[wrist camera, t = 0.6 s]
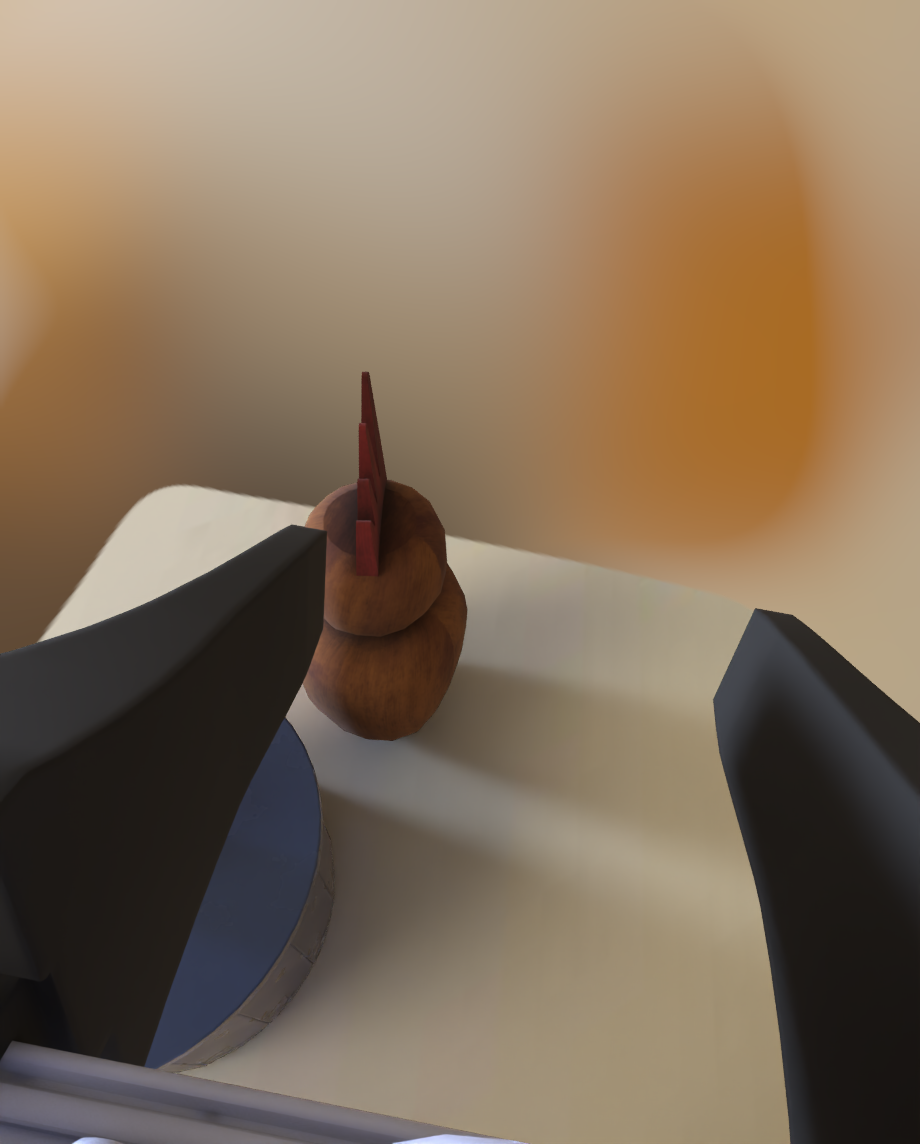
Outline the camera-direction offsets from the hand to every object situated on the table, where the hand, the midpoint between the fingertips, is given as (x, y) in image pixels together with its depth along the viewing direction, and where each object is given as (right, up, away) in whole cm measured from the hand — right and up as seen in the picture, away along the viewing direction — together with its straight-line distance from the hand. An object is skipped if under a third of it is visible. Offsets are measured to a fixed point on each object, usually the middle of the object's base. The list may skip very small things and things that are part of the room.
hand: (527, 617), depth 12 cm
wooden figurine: (-4, -4, +18) cm, 19 cm away
